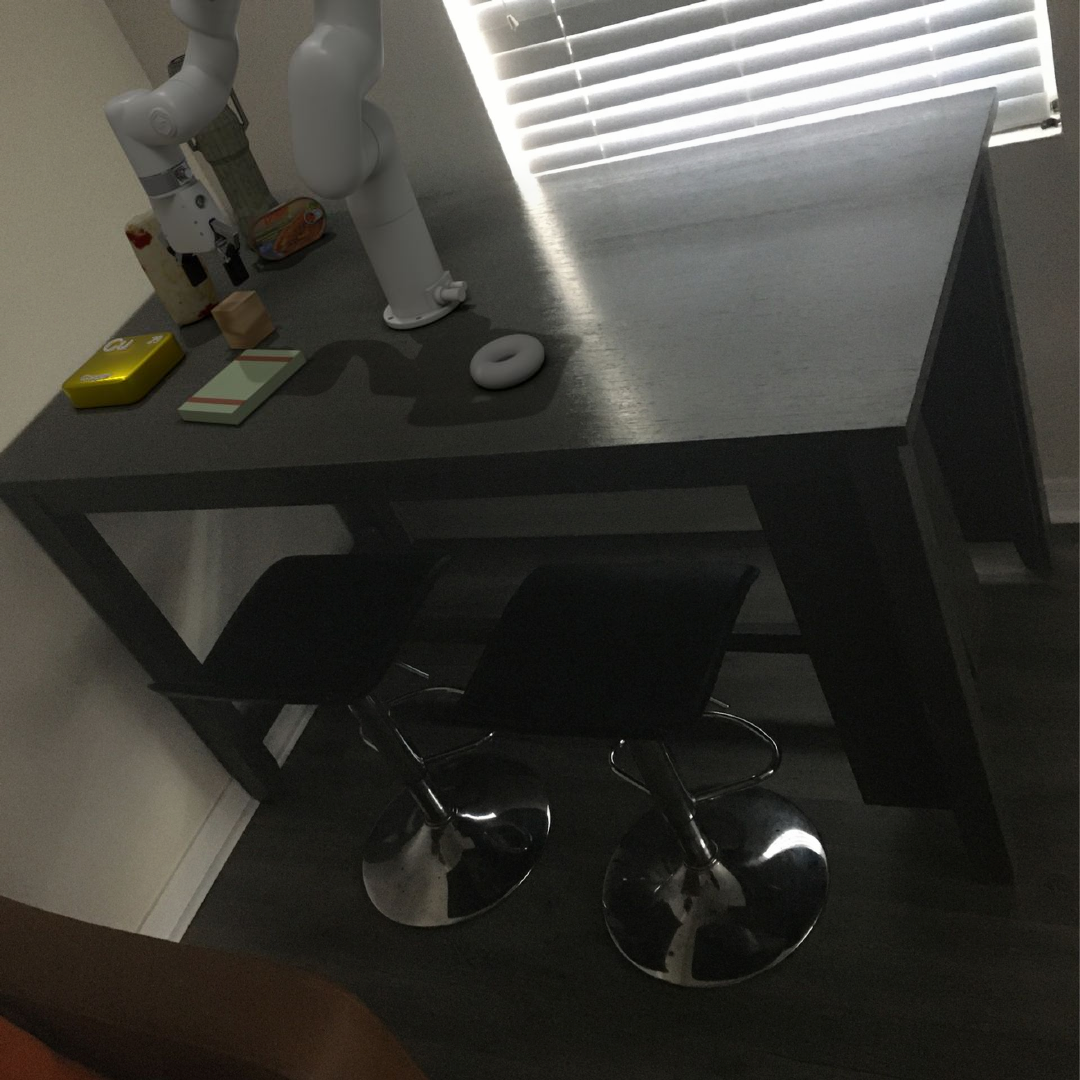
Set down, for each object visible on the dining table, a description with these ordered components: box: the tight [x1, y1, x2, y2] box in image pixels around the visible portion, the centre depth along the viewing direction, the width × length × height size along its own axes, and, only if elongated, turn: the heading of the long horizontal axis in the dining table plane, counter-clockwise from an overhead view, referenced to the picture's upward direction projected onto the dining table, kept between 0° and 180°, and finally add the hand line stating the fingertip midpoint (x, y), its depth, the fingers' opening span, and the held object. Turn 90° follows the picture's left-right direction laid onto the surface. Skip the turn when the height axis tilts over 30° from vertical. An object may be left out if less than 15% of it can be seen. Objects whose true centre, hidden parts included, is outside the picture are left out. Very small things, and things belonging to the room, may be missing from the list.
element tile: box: [61, 331, 185, 409], centre depth 175 cm, size 15×15×5 cm
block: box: [210, 290, 276, 350], centre depth 173 cm, size 5×6×7 cm
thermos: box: [166, 53, 280, 249], centre depth 201 cm, size 9×12×35 cm
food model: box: [124, 208, 220, 326], centre depth 184 cm, size 10×7×20 cm
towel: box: [176, 348, 307, 426], centre depth 160 cm, size 12×16×2 cm
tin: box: [249, 195, 328, 261], centre depth 200 cm, size 15×3×8 cm, turn 120°
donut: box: [469, 333, 545, 390], centre depth 139 cm, size 10×4×10 cm
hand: (221, 282), depth 169 cm, fingers open, 9 cm apart
